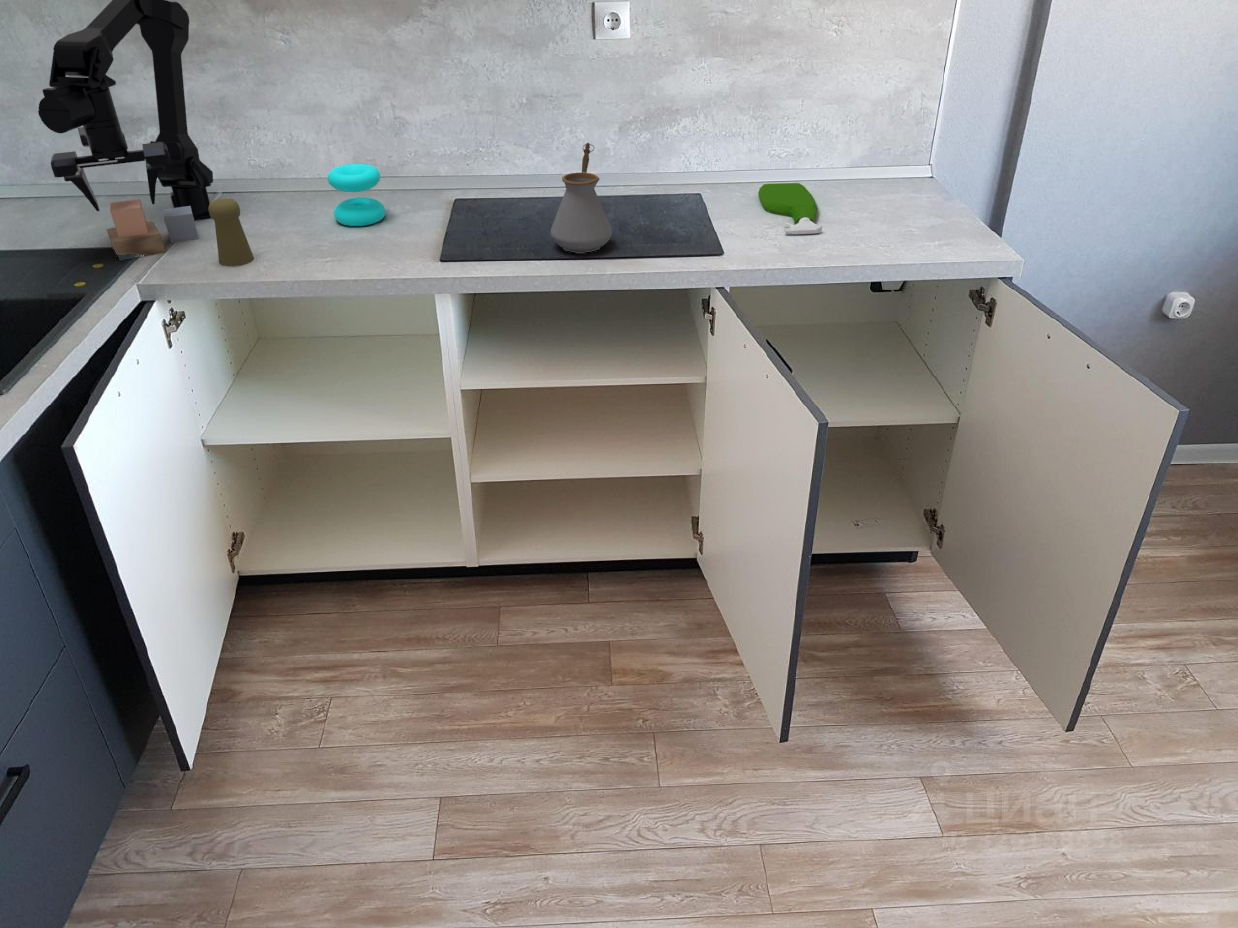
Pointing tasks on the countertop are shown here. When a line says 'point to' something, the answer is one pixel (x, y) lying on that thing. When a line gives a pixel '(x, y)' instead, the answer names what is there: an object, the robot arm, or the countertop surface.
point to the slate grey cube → (180, 224)
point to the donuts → (356, 181)
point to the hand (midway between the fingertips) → (126, 207)
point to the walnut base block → (138, 242)
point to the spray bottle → (791, 206)
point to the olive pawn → (230, 233)
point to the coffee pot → (581, 213)
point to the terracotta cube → (129, 218)
